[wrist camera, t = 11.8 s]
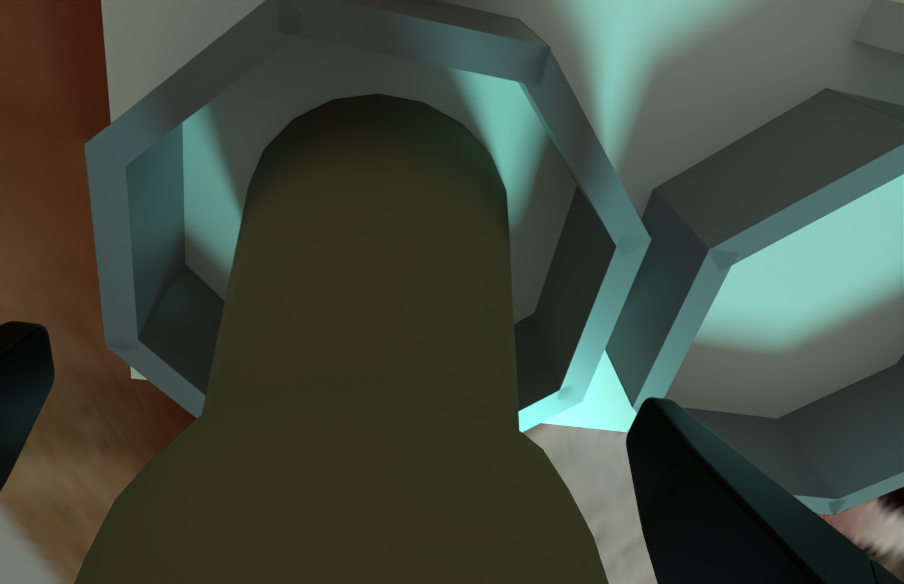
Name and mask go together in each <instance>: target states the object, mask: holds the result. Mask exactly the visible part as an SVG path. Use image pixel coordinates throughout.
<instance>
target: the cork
mask: <svg viewBox="0 0 904 584" xmlns="http://www.w3.org/2000/svg"><path fill="white" fill-rule="evenodd" d="M74 584H609V583H608V580H607V577H606V574H605V571H604V568H603V565H602V562H601V559H600V556H599V553H598V550H597V547H596V543H595V540H594V537H593V535H592V533H591V531H590V529H589V527H588V525H587V523H586V522H585V520H584V518H583V516H582V514H581V512H580V510H579V508H578V506H577V504H576V502H575V500H574V499H573V497H572V495H571V493H570V491H569V489H568V487H567V486H566V484H565V483H564V481H563V480H562V478H561V477H560V475H559V474H558V472H557V471H556V469H555V467H554V466H553V464H552V463H551V461H550V460H549V458H548V457H547V455H546V454H545V452H544V450H543V449H542V448H540V447H539V446H538V445H537V444H535V443H534V442H533V441H532V440H531V439H529V438H528V437H527V436H526V435H524V434H523V433H522V432H521V431H519V412H518V392H517V373H516V353H515V334H514V315H513V295H512V276H511V256H510V237H509V219H508V203H507V191H506V188H505V186H504V184H503V181H502V179H501V177H500V174H499V172H498V170H497V167H496V165H495V163H494V160H493V158H492V156H491V154H490V153H489V152H488V151H487V150H486V149H485V148H484V147H483V145H482V144H481V143H480V142H479V141H478V140H477V139H476V138H475V137H474V136H473V135H472V133H471V132H470V131H469V130H468V129H467V128H466V127H465V126H464V125H463V124H462V123H460V122H459V121H457V120H455V119H453V118H451V117H450V116H448V115H446V114H444V113H442V112H441V111H439V110H437V109H435V108H433V107H432V106H430V105H428V104H426V103H424V102H420V101H415V100H410V99H405V98H400V97H395V96H389V95H384V94H379V93H378V94H370V95H362V96H354V97H346V98H338V99H332V100H330V101H328V102H326V103H324V104H322V105H320V106H318V107H316V108H314V109H312V110H310V111H308V112H306V113H304V114H302V115H300V116H298V117H296V118H294V119H292V120H291V122H290V123H289V124H288V125H287V126H286V127H285V128H284V129H283V130H282V131H281V132H280V133H279V134H278V135H277V136H276V137H275V138H274V139H273V140H272V141H271V142H270V143H269V144H268V145H267V147H266V148H265V149H264V150H263V153H262V155H261V157H260V160H259V162H258V164H257V167H256V169H255V171H254V174H253V176H252V178H251V181H250V183H249V186H248V190H247V195H246V200H245V205H244V210H243V214H242V219H241V224H240V229H239V234H238V239H237V244H236V249H235V254H234V259H233V264H232V268H231V273H230V278H229V283H228V288H227V293H226V298H225V303H224V308H223V313H222V318H221V323H220V327H219V332H218V337H217V342H216V347H215V352H214V357H213V362H212V367H211V372H210V377H209V382H208V386H207V391H206V396H205V401H204V406H203V411H202V415H201V416H200V417H198V418H197V419H196V420H195V421H194V422H193V423H192V424H190V425H189V426H188V427H187V428H186V429H185V430H184V431H182V432H181V433H180V434H179V435H178V436H177V437H175V438H174V439H173V440H172V441H171V442H170V443H169V444H167V445H166V446H165V447H164V448H163V449H162V450H161V451H159V452H158V453H157V454H156V455H155V456H154V457H153V458H152V459H151V460H150V461H149V462H148V464H147V465H146V466H145V467H144V468H143V469H142V470H141V471H140V472H139V474H138V475H137V476H136V477H135V478H134V479H133V480H132V481H131V483H130V484H129V485H128V486H127V487H126V488H125V489H124V490H123V491H122V493H121V494H120V495H119V496H118V497H117V498H116V499H115V501H114V503H113V505H112V507H111V509H110V510H109V512H108V514H107V516H106V518H105V520H104V522H103V524H102V526H101V528H100V530H99V532H98V534H97V536H96V538H95V540H94V542H93V543H92V545H91V547H90V549H89V551H88V553H87V555H86V557H85V559H84V562H83V564H82V566H81V569H80V571H79V574H78V576H77V578H76V581H75V583H74Z"/></svg>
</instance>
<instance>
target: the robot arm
mask: <svg viewBox="0 0 904 584" xmlns="http://www.w3.org/2000/svg"><path fill="white" fill-rule="evenodd" d="M54 373H55V371H54V364H53V358H52V352H51V345H50V339H49V334H48V331H47V329H46V327H44V326H43V325H41V324H36V323H28V322H20V321H10V322H6V323H4V324H1V325H0V491H1V490H2V488H3V486H4V485H5V483H6V481H7V479H8V477H9V475H10V473H11V471H12V469H13V467H14V465H15V463H16V461H17V459H18V457H19V455H20V453H21V451H22V448H23V446H24V444H25V442H26V440H27V438H28V436H29V434H30V432H31V430H32V427H33V425H34V423H35V421H36V419H37V417H38V415H39V413H40V411H41V408H42V406H43V404H44V402H45V400H46V398H47V396H48V394H49V392H50V389H51V387H52V384H53V381H54ZM626 447H627V453H628V458H629V464H630V469H631V474H632V480H633V485H634V490H635V496H636V501H637V506H638V512H639V517H640V522H641V526H642V531H643V535H644V539H645V542H646V546H647V549H648V553H649V556H650V559H651V563H652V566H653V569H654V573H655V576H656V579H657V583H658V584H904V583H903V582H902V581H901V580H899V579H898V578H897V577H895V576H894V575H893V574H892V573H890V572H889V571H888V570H887V569H885V568H884V567H883V566H882V565H880V564H879V563H878V562H877V561H875V560H873V559H871V560H870V558H869V556H868V554H866V553H865V552H864V551H863V550H861V549H860V548H859V547H858V546H856V545H855V544H854V543H853V542H851V541H850V540H849V539H847V538H846V537H845V536H844V535H842V534H841V533H840V532H839V531H837V530H836V529H835V528H834V527H832V526H831V525H830V524H829V523H827V522H826V521H825V520H823V519H822V518H821V517H820V516H818V515H817V514H816V513H815V512H813V511H812V510H811V509H810V508H808V507H807V506H806V505H805V504H803V503H802V502H801V501H799V500H798V499H797V498H796V497H794V496H793V495H792V494H791V493H789V492H788V491H787V490H786V489H784V488H783V487H782V486H781V485H779V484H778V483H777V482H775V481H774V480H773V479H772V478H770V477H769V476H768V475H767V474H765V473H764V472H763V471H762V470H760V469H759V468H758V467H757V466H755V465H754V464H753V463H751V462H750V461H749V460H748V459H746V458H745V457H744V456H743V455H741V454H740V453H739V452H738V451H736V450H735V449H734V448H733V447H731V446H730V445H729V444H728V443H726V442H725V441H724V440H722V439H721V438H720V437H719V436H717V435H716V434H715V433H714V432H712V431H711V430H710V429H709V428H707V427H706V426H705V425H704V424H702V423H701V422H700V421H699V420H697V419H696V418H695V417H693V416H692V415H691V414H690V413H688V412H687V411H686V410H685V409H683V408H682V407H681V406H680V405H678V404H677V403H676V402H674V401H673V400H670V399H665V398H656V397H649V398H646V399H645V400H644V401H643V403H642V404H641V406H640V409H639V411H638V413H637V415H636V417H635V419H634V421H633V423H632V425H631V427H630V429H629V431H628V434H627V439H626Z"/></svg>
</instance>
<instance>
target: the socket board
mask: <svg viewBox="0 0 904 584" xmlns="http://www.w3.org/2000/svg"><path fill="white" fill-rule="evenodd" d="M101 6H102V19H103V31H104V44H105V56H106V68H107V81H108V93H109V106H110V118H111V124H110V125H108V126H107V127H106V128H105V129H103V130H102V131H100V132H99V133H98V134H96V135H95V136H94V137H92V138H91V139H89V140H88V141H87V142H85V143H84V146H85V156H86V165H87V175H88V184H89V194H90V203H91V213H92V222H93V232H94V241H95V251H96V260H97V270H98V279H99V289H100V298H101V308H102V317H103V327H104V336H105V346H106V347H107V348H108V349H110V350H111V351H112V352H113V353H115V354H116V355H117V356H118V357H120V358H121V359H122V360H123V361H125V362H126V363H127V364H129V365H130V367H131V378H133V379H142V380H149V381H150V382H151V383H152V384H154V385H155V386H156V387H158V388H159V389H160V390H161V391H163V392H164V393H165V394H166V395H168V396H169V397H170V398H171V399H173V400H174V401H175V402H176V403H178V404H179V405H180V406H181V407H183V408H184V409H185V410H187V411H188V412H189V413H190V414H192V415H193V416H194V417H195V418H198V417H200V416H201V415H202V411H203V406H204V401H205V396H206V391H207V386H208V382H209V377H210V372H211V367H212V362H213V357H214V352H215V347H216V342H217V337H218V332H219V327H220V323H221V318H222V313H223V308H224V303H225V298H226V293H227V288H228V283H229V278H230V273H231V268H232V264H233V259H234V254H235V249H236V244H237V239H238V234H239V229H240V224H241V219H242V214H243V210H244V205H245V200H246V195H247V190H248V186H249V183H250V181H251V178H252V176H253V174H254V171H255V169H256V167H257V164H258V162H259V160H260V157H261V155H262V153H263V150H264V149H265V148H266V147H267V145H268V144H269V143H270V142H271V141H272V140H273V139H274V138H275V137H276V136H277V135H278V134H279V133H280V132H281V131H282V130H283V129H284V128H285V127H286V126H287V125H288V124H289V123H290V122H291V120H292V119H294V118H296V117H298V116H300V115H302V114H304V113H306V112H308V111H310V110H312V109H314V108H316V107H318V106H320V105H322V104H324V103H326V102H328V101H330V100H332V99H338V98H346V97H354V96H362V95H370V94H378V93H379V94H384V95H389V96H395V97H400V98H405V99H410V100H415V101H420V102H424V103H426V104H428V105H430V106H432V107H433V108H435V109H437V110H439V111H441V112H442V113H444V114H446V115H448V116H450V117H451V118H453V119H455V120H457V121H459V122H460V123H462V124H463V125H464V126H465V127H466V128H467V129H468V130H469V131H470V132H471V133H472V135H473V136H474V137H475V138H476V139H477V140H478V141H479V142H480V143H481V144H482V145H483V147H484V148H485V149H486V150H487V151H488V152H489V153H490V154H491V156H492V158H493V160H494V163H495V165H496V167H497V170H498V172H499V174H500V177H501V179H502V181H503V184H504V186H505V188H506V191H507V203H508V219H509V237H510V256H511V276H512V295H513V315H514V334H515V353H516V373H517V392H518V412H519V431H521V432H524V431H526V430H528V429H529V428H531V427H533V426H535V425H537V424H539V423H548V424H557V425H566V426H576V427H585V428H594V429H603V430H612V431H622V432H628V431H629V429H630V427H631V425H632V423H633V421H634V419H635V417H636V415H637V413H638V411H639V409H640V406H641V404H642V403H643V401H644V400H645V399H646V398H649V397H656V398H665V399H670V400H673V401H674V402H676V403H677V404H678V405H680V406H681V407H682V408H683V409H685V410H686V411H687V412H688V413H690V414H691V415H692V416H693V417H695V418H696V419H697V420H699V421H700V422H701V423H702V424H704V425H705V426H706V427H707V428H709V429H710V430H711V431H712V432H714V433H715V434H716V435H717V436H719V437H720V438H721V439H722V440H724V441H725V442H726V443H728V444H729V445H730V446H731V447H733V448H734V449H735V450H736V451H738V452H739V453H740V454H741V455H743V456H744V457H745V458H746V459H748V460H749V461H750V462H751V463H753V464H754V465H755V466H757V467H758V468H759V469H760V470H762V471H763V472H764V473H765V474H767V475H768V476H769V477H770V478H772V479H773V480H774V481H775V482H777V483H778V484H779V485H781V486H782V487H783V488H784V489H786V490H787V491H788V492H789V493H791V494H792V495H793V496H794V497H796V498H797V499H798V500H799V501H801V502H802V503H803V504H805V505H806V506H807V507H808V508H810V509H811V510H812V511H813V512H815V513H817V514H828V515H835V514H838V513H840V512H843V511H845V510H847V509H850V508H852V507H855V506H857V505H860V504H862V503H864V502H867V501H869V500H872V499H874V498H877V497H879V496H882V495H884V494H886V493H889V492H891V491H894V490H896V489H899V488H901V487H903V486H904V0H101Z"/></svg>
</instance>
